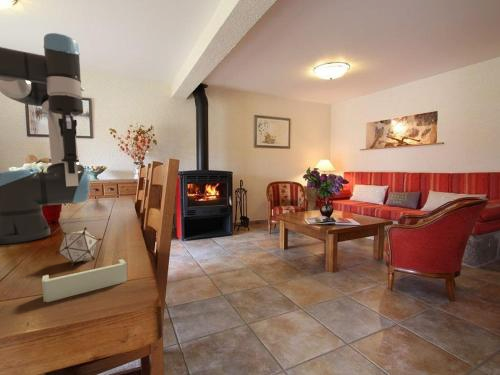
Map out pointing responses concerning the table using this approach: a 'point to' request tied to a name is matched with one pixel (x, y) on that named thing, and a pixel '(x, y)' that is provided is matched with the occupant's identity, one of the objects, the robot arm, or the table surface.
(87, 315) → the table surface
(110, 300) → the table surface
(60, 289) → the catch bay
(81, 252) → the game die
